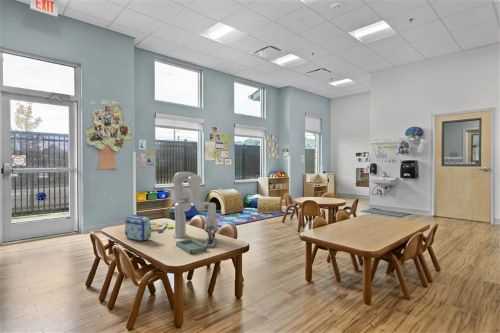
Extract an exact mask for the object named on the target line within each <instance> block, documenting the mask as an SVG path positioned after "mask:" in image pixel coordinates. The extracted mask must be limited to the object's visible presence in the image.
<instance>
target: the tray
mask: <svg viewBox="0 0 500 333" xmlns="http://www.w3.org/2000/svg"><path fill="white" fill-rule="evenodd" d="M175 243H176V244H175V246H176V247H178V248H179V249H180V250H182V251H183V252H185V253H187V254H189V255H195V254H200V253H204V252H207V248H206V246H204V245H205V244H202V243H200V242H199V241H196V240H194V239H193V238H189V239H184V240H179V241H175Z"/></svg>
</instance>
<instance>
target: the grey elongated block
mask: <svg viewBox="0 0 500 333" xmlns="http://www.w3.org/2000/svg"><path fill="white" fill-rule="evenodd" d="M213 233H214V232H213V231H211V240H212V245H209V237H207V238H206V240H205V243H204V244H203V245H204V246H206V249H215V247H216V243H217V237H214V238H213Z"/></svg>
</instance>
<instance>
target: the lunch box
mask: <svg viewBox="0 0 500 333" xmlns="http://www.w3.org/2000/svg"><path fill="white" fill-rule="evenodd" d="M124 223H125V225H124V227H125V229H124V235H125V237H126V239H127V240H133V241H134V240H135V241H139V242H143V241H146V240H149V239H150V238H151V237H152V231H151V224H152V223H151V219H149V217H146V216H143V215H142V216H141V215H136V214H133V215H131V216H126V218H125V220H124Z"/></svg>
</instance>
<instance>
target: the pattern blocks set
mask: <svg viewBox="0 0 500 333" xmlns="http://www.w3.org/2000/svg"><path fill="white" fill-rule="evenodd" d="M166 226H167V228H168V230H172V229H174V226H173V225H168V222H162V223H161V224H157V223H153V222H152V223H151V232H157V234H161V233H162V232H163V233H164V230H165V228H166Z"/></svg>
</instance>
